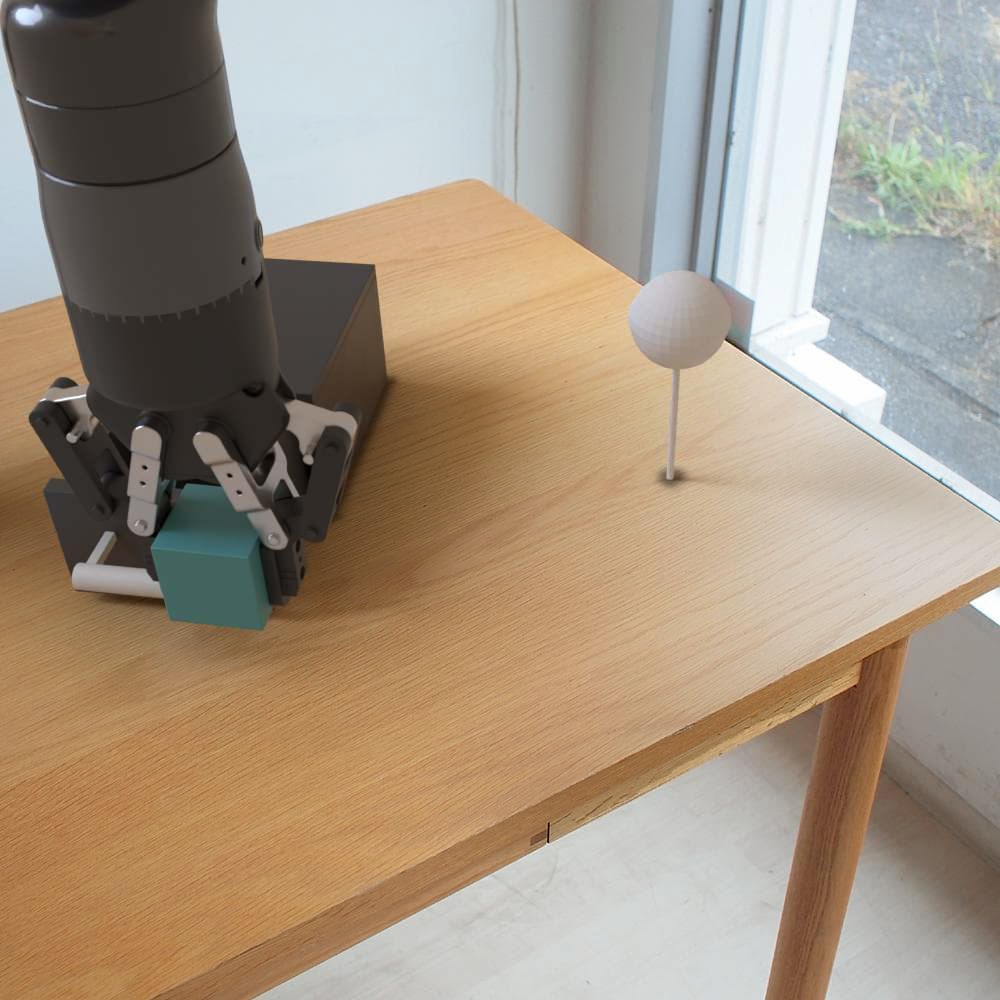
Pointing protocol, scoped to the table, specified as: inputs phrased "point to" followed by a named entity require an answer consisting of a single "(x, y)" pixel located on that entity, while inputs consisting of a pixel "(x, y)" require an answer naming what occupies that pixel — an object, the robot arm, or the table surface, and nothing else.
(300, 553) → the robot arm
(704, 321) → the lollipop
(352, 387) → the cabinet
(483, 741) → the table surface
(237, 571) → the block
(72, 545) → the drawer
